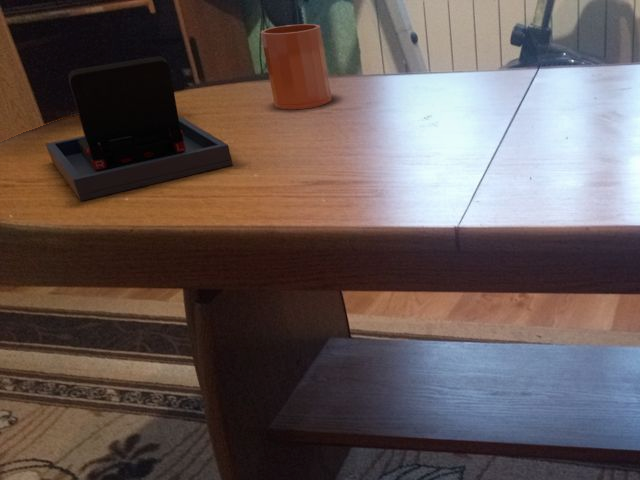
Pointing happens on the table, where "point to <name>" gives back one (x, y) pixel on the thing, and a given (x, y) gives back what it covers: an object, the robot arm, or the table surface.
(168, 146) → the handheld gaming console
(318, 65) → the terracotta cup
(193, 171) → the dark tray
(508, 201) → the table surface
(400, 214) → the table surface
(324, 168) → the table surface
